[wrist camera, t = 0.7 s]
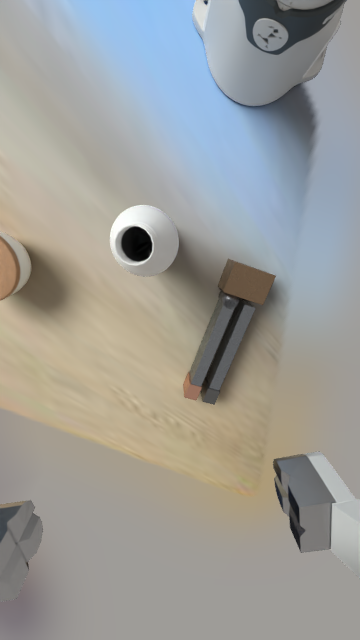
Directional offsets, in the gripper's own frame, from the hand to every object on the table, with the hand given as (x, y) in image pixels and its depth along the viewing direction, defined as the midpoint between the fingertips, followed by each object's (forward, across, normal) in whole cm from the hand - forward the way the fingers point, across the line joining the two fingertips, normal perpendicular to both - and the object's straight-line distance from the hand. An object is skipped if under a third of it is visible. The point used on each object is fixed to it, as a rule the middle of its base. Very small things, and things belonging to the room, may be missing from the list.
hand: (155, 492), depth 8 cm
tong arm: (+38, -6, +11) cm, 40 cm away
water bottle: (+38, 0, -8) cm, 39 cm away
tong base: (+38, -8, +10) cm, 41 cm away
